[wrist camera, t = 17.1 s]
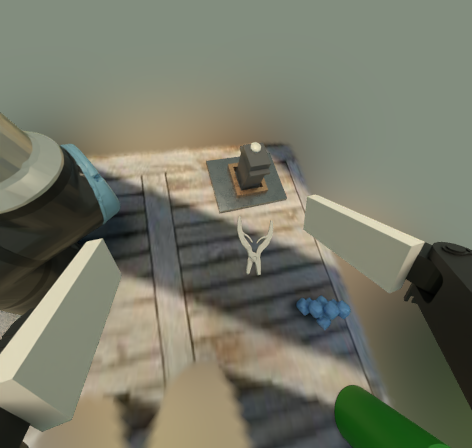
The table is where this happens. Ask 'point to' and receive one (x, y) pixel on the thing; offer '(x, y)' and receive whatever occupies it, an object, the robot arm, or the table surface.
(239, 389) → the table surface
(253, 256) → the pliers
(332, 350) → the table surface
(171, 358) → the table surface
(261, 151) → the servo
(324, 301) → the grapes
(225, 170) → the plate
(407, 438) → the green pencil holder
